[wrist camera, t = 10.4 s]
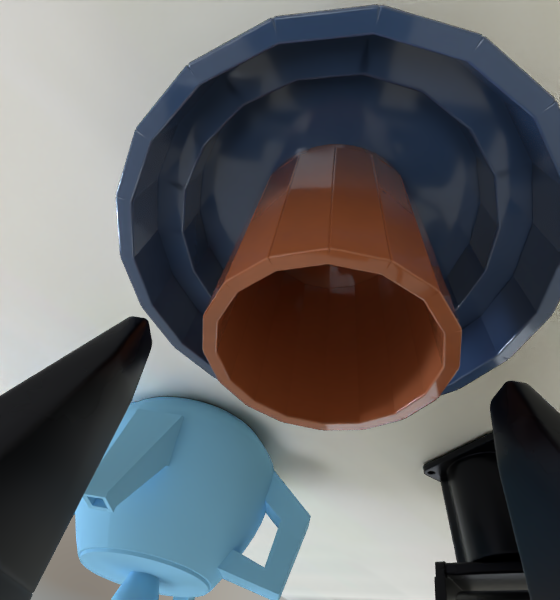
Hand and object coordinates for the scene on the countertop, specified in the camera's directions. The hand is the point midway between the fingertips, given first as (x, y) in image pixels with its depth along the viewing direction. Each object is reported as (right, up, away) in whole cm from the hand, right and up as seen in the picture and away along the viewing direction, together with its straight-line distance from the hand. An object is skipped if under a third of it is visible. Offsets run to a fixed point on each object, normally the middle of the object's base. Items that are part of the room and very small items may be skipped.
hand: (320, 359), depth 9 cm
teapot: (-8, -10, +20) cm, 24 cm away
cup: (+1, +5, +6) cm, 8 cm away
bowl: (+1, +5, +6) cm, 8 cm away
